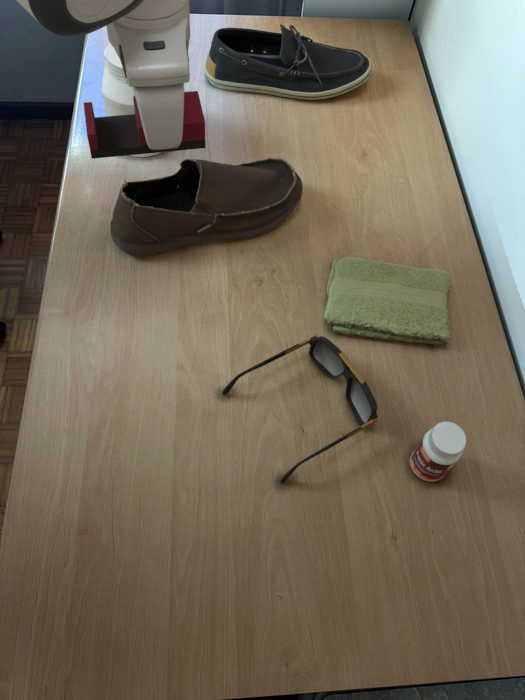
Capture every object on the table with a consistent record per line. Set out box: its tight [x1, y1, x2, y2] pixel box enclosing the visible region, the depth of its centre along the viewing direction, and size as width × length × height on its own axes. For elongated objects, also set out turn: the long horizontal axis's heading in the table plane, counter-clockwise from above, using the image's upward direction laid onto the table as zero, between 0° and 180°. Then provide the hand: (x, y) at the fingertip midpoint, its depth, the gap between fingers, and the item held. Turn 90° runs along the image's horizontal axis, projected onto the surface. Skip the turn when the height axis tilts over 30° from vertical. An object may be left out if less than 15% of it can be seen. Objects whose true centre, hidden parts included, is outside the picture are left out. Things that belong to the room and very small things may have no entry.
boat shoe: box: [204, 23, 373, 101], centre depth 115 cm, size 11×29×9 cm, turn 89°
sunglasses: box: [221, 334, 381, 484], centre depth 83 cm, size 14×15×5 cm
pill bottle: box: [409, 421, 467, 483], centre depth 79 cm, size 5×5×8 cm
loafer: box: [109, 157, 304, 257], centre depth 96 cm, size 11×30×11 cm, turn 116°
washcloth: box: [323, 255, 452, 346], centre depth 93 cm, size 13×18×3 cm
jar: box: [101, 42, 163, 158], centre depth 103 cm, size 12×10×15 cm
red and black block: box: [83, 90, 206, 160], centre depth 82 cm, size 14×6×4 cm, turn 102°
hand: (157, 125), depth 82 cm, fingers closed on red and black block, 6 cm apart
